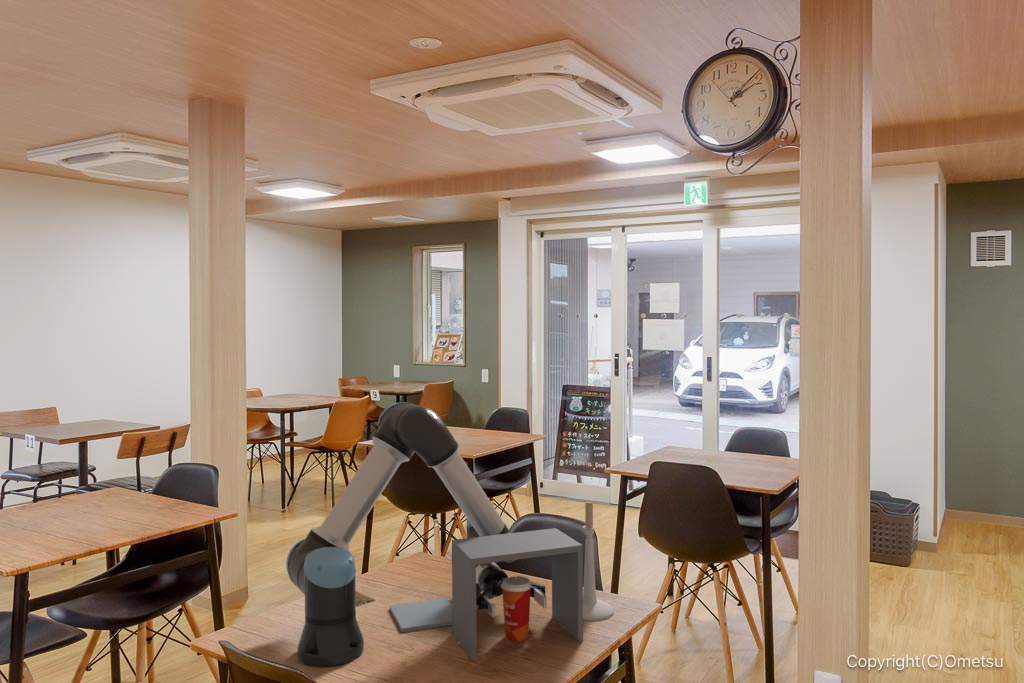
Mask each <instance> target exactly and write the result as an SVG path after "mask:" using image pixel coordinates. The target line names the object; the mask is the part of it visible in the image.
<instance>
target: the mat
mask: <svg viewBox="0 0 1024 683" xmlns="http://www.w3.org/2000/svg"><path fill="white" fill-rule="evenodd" d="M389 611H390V613H391V615H392V616H393V619H394V621H395V622H396V625H397V626H398V628H399V630H400V631H401V633H407V632H413V631H420V630H426V628H428V629H433V628H432V627H434V628H440V627H439V626H441V627H445V625H447V626H453V625H452V624H453V616H452V603H451V602H450V601H449V599H448V598H447V597H444V598H443V597H442V598H435V599H429V600H422V601H415V602H408V603H399V604H394V605H389Z"/></svg>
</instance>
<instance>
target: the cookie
mask: <svg viewBox="0 0 1024 683" xmlns="http://www.w3.org/2000/svg"><path fill="white" fill-rule="evenodd" d="M374 601H376V599H375V598H373V597H370V596H367V595H366V594H363V593H360V592H358V591H357V590H356V606H357V607H359V606H358V605H360V606H362V605H361V604H363V605H366V604H365V603H367V604H370V603H372V602H374Z"/></svg>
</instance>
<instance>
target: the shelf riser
mask: <svg viewBox="0 0 1024 683" xmlns="http://www.w3.org/2000/svg"><path fill="white" fill-rule="evenodd" d="M583 554H584V553H583V544H582V543H580V542H578V541H577V540H575V539H574V538H572V537H571V536H569V535H567V534H566V533H564V532H563V531H561V530H560V529H558V528H556V527H555V528H546V529H545V528H544V529H536V530H527V531H520V532H519V531H517V532H511V533H509V534H500V535H491V536H482V537H473V538H467V537H466V538H458V539H457V538H456V539H451V581H452V583H451V588H452V589H451V592H452V593H451V595H452V596H451V597H452V599H451V600H452V603H451V604H452V616H453V625H452V634H453V636H454V635H455V636H454V637H455V638H457V639H458V640H457V639H456V640H457V642H458V643H459V642H460V643H459V644H460V645H462V646H461V648H464V649H463V650H464V651H465V654H466V655H468V657H469V658H470V660H471V661H474V660H477V656H478V655H477V650H478V649H477V648H478V647H477V645H478V644H477V642H478V641H477V605H476V565H478V564H486V563H501V562H504V561H509V560H515V561H517V560H524V559H531V558H532V559H533V558H539V557H548V556H551V613H552V614H551V618H552V619H553V620H555V621H556V622H557V623H558V624H559V625H560V626H561V627H562V628H563V629H564V630H565V629H566V630H565V631H566V632H568V633H569V635H571V636H572V638H574V639H575V640H576V641H577V642H583V641H584V620H583V587H584V570H583V566H584V565H583V562H584V561H583Z"/></svg>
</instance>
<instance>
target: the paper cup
mask: <svg viewBox="0 0 1024 683" xmlns="http://www.w3.org/2000/svg"><path fill="white" fill-rule="evenodd" d="M530 581H531V580H530V578H528V577H525V576H520V575H517V576H510V577H509V576H508V577H507V578H505V579H504V580H503V582H502V584H501V588H502V592H503V594H502V604H503V621H504V622H503V623H504V632H505V634H504V636H505V638H507V639H506V640H507V641H510V640H511V641H510V642H515V641H519V642H523V640H524V641H526V640H527V639H528V638H529V631H530V630H529V629H530V628H529V626H530V608H531V607H530V606H531V605H530V604H531V597H530V591H531V587H532V584H531V583H530ZM525 639H526V640H525Z"/></svg>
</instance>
